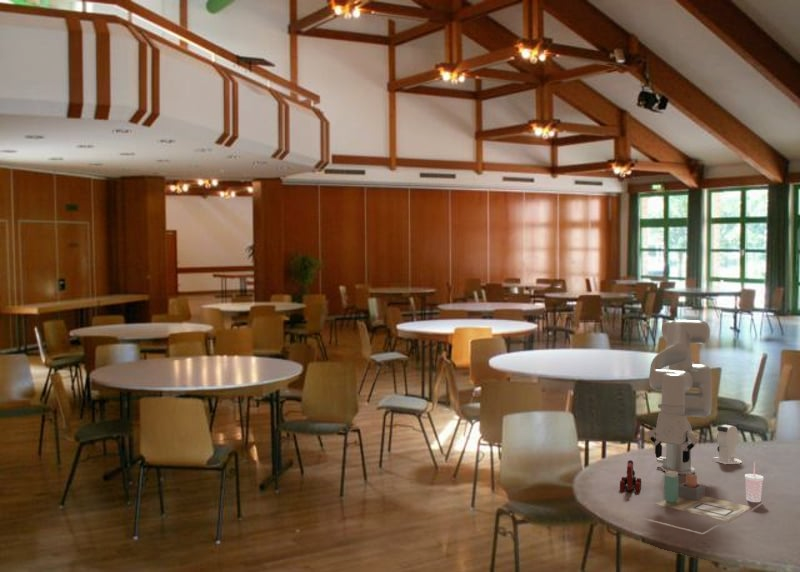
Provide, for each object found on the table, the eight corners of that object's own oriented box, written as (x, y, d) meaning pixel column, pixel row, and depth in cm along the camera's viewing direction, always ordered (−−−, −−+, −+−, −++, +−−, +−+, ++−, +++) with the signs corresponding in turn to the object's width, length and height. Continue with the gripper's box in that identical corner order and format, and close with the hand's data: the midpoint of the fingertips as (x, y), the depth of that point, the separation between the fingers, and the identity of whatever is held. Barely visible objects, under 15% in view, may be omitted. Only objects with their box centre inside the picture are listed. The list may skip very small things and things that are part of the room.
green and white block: (664, 502, 280) (664, 472, 279) (668, 500, 282) (669, 470, 282) (673, 505, 277) (674, 474, 277) (678, 502, 280) (678, 472, 279)
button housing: (677, 496, 286) (677, 485, 286) (685, 492, 291) (686, 481, 291) (696, 501, 281) (696, 489, 281) (705, 496, 286) (705, 485, 286)
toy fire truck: (641, 486, 301) (642, 458, 300) (639, 496, 289) (639, 467, 288) (622, 484, 303) (622, 457, 302) (619, 494, 291) (619, 465, 291)
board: (654, 505, 279) (654, 503, 279) (681, 492, 293) (681, 490, 293) (727, 523, 261) (727, 520, 261) (751, 508, 276) (751, 506, 276)
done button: (683, 489, 286) (684, 475, 286) (688, 487, 289) (688, 473, 288) (693, 491, 284) (694, 477, 283) (698, 489, 286) (698, 475, 286)
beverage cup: (754, 505, 279) (755, 465, 278) (739, 500, 284) (740, 460, 284) (766, 502, 282) (768, 462, 281) (752, 497, 287) (753, 458, 286)
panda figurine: (720, 455, 344) (721, 420, 343) (747, 461, 335) (748, 425, 335) (707, 460, 336) (708, 424, 335) (734, 466, 327) (735, 429, 326)
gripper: (644, 407, 281) (643, 456, 282) (692, 414, 269) (691, 466, 270) (654, 404, 287) (653, 453, 287) (702, 411, 275) (701, 462, 275)
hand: (672, 459), depth 279 cm, fingers open, 9 cm apart
